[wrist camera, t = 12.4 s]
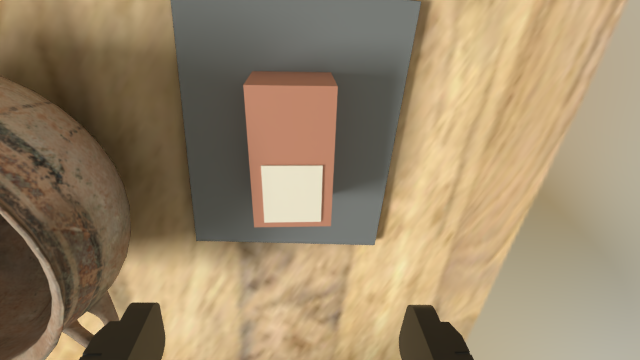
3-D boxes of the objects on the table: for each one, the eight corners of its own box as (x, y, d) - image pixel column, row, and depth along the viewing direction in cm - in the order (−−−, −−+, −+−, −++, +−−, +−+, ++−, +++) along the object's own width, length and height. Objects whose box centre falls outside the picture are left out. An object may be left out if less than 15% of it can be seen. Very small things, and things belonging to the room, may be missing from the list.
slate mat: (198, 235, 31) (196, 240, 30) (172, -22, 22) (168, -23, 21) (372, 239, 32) (374, 245, 31) (417, 1, 23) (421, 1, 22)
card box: (252, 71, 24) (242, 85, 20) (330, 72, 24) (338, 86, 20) (260, 195, 28) (254, 228, 24) (326, 195, 29) (331, 227, 25)
